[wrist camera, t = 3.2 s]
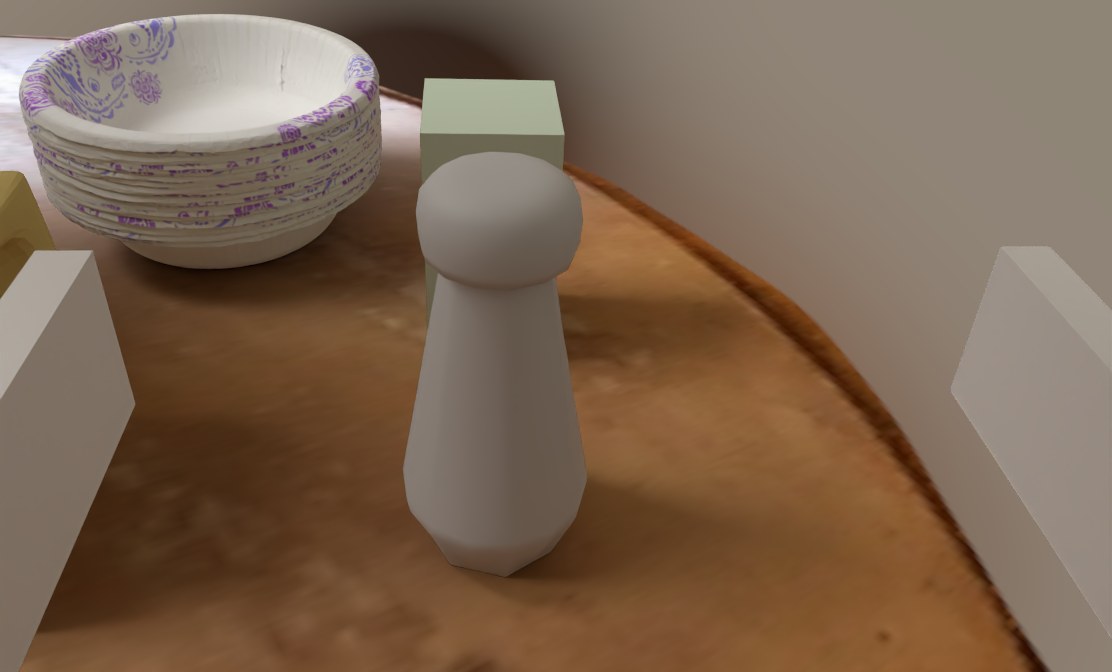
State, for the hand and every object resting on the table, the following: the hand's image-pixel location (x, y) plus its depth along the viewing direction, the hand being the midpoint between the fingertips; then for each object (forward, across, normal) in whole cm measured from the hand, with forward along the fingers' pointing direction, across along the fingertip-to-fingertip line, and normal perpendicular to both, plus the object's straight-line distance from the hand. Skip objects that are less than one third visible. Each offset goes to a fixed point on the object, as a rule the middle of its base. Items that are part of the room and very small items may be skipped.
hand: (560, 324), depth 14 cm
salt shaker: (+11, -1, -16) cm, 19 cm away
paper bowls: (+31, -13, -16) cm, 37 cm away
